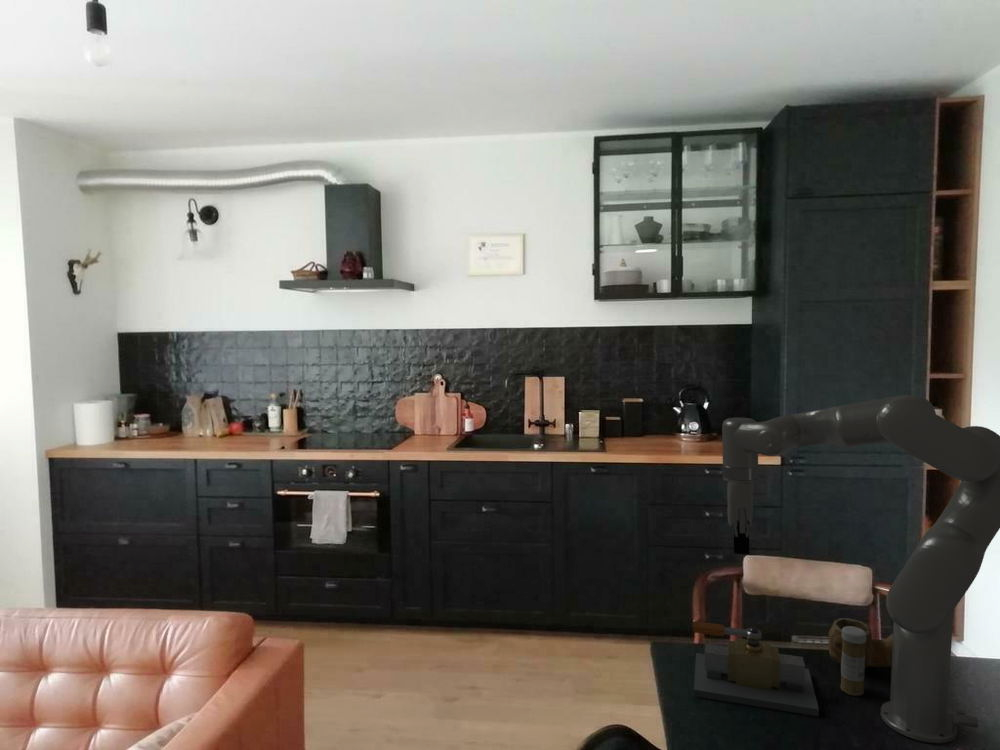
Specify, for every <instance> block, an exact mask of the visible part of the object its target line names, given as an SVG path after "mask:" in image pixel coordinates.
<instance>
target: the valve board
mask: <svg viewBox="0 0 1000 750" xmlns="http://www.w3.org/2000/svg"><path fill="white" fill-rule="evenodd" d="M704 662H705V653H699V652H696V653H695V665H694V681H693V682H694V683H693V697H696V698H702V699H707V700H708V699H709V700H714V701H719V702H720V701H721V702H725V703H726V702H727V703H731V704H733V703H734V704H737V705H738V704H739V705H744V706H752V707H757V708H764V709H770V710H776V711H783V712H787V713H795V714H801V715H805V716H814V717H819V716H820V708H819V704H818V700H817V697H816V693H815V689H814V684H813V680H812V677H811V674H810V669H809V668H806V667H805V683H804V685H803V684H802V692H796V691H789V690H786V685H785V682H783V681H780V684H779V688H776V687H771V690H766V689H760V688H753V687H747V686H740V685H736V681H730V680H728V673H722V672H721V680H717V679H710V678H707V670H704Z"/></svg>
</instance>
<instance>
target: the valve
mask: <svg viewBox="0 0 1000 750" xmlns="http://www.w3.org/2000/svg"><path fill="white" fill-rule="evenodd" d="M704 654H705V662H704V670H707V678H710V679H717V680H721V672H722V673H728V680H730V681H736V685H740V686H747V687H753V688H760V689H766V690H771V687H776V688H779V684H780V681H783V682H785V685H786V690H789V691H796V692H802V684H803V685H804V683H805V668H806V665H805V661H804V657H803V656H798V655H790V654H784V653H780V652H779V647H778V646H771V644H770V642H768V641H761V640H751V639H748V638H747V639H745V638H737V637H735V640H727V646H724V645H717V644H711V643H704Z"/></svg>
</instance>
